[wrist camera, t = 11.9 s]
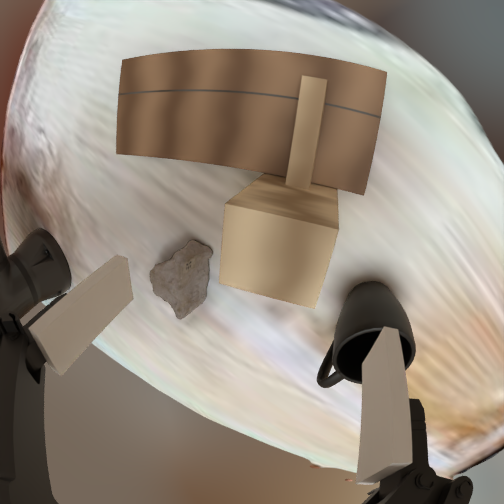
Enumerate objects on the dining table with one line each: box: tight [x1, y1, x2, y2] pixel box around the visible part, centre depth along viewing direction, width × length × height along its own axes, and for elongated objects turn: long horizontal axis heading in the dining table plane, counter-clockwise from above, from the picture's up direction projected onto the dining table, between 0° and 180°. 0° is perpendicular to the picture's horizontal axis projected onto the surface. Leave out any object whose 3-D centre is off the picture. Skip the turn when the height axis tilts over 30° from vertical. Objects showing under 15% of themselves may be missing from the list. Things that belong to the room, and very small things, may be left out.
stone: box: [150, 240, 213, 319], centre depth 33 cm, size 10×8×6 cm
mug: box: [317, 281, 416, 388], centre depth 27 cm, size 8×12×10 cm
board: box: [116, 49, 387, 196], centre depth 24 cm, size 28×12×2 cm, turn 83°
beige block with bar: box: [219, 75, 339, 309], centre depth 20 cm, size 7×16×12 cm, turn 173°
